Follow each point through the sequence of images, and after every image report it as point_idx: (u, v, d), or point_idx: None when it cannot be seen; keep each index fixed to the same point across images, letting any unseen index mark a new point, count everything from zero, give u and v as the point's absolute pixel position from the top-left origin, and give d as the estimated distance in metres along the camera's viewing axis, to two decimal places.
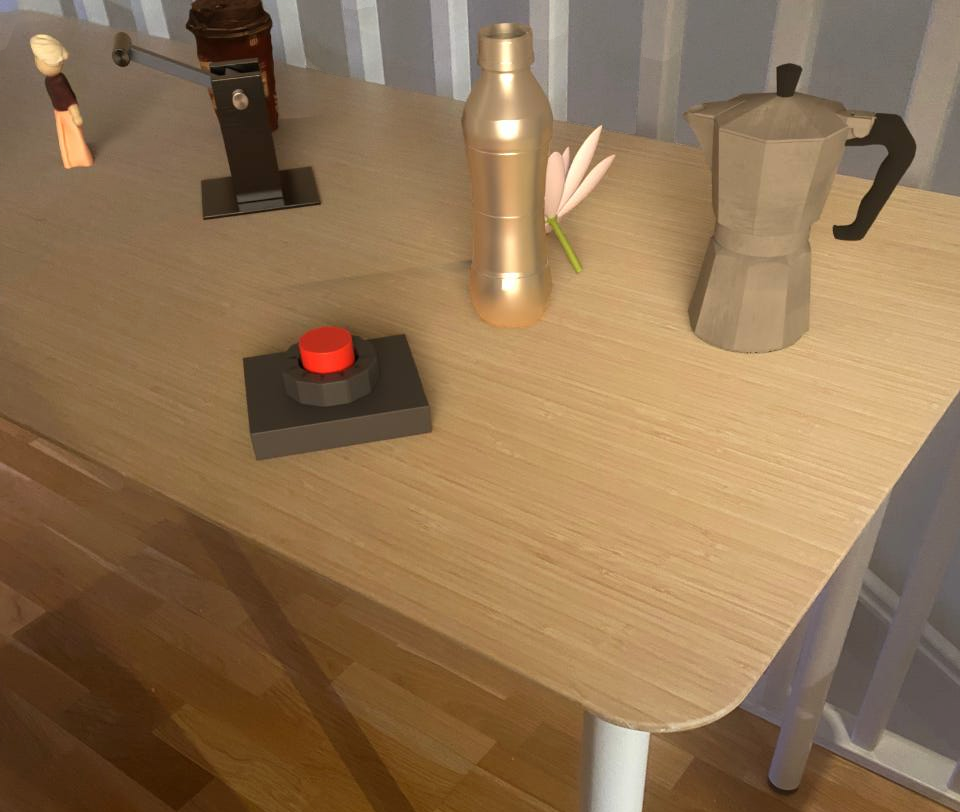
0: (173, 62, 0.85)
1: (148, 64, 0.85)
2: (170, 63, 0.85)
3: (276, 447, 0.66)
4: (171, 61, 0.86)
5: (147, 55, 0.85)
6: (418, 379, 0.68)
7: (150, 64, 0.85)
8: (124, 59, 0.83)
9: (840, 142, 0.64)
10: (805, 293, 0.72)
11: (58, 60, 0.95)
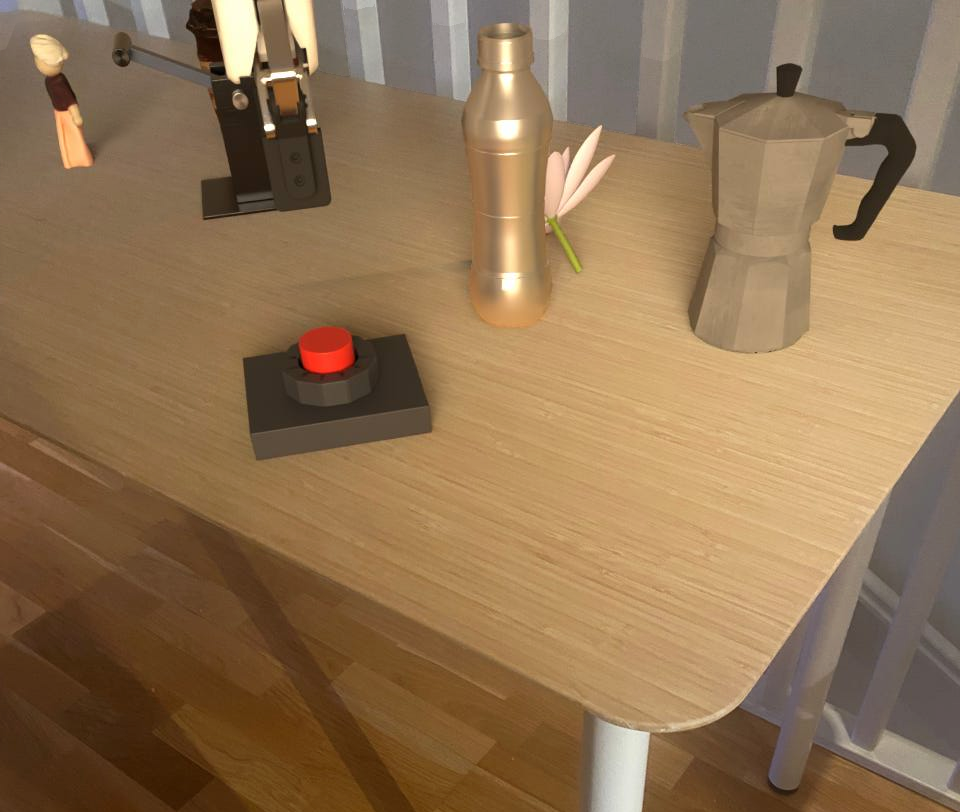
0: (173, 62, 0.85)
1: (148, 64, 0.85)
2: (170, 63, 0.85)
3: (276, 447, 0.66)
4: (171, 61, 0.86)
5: (147, 55, 0.85)
6: (418, 379, 0.68)
7: (150, 64, 0.85)
8: (124, 59, 0.83)
9: (840, 142, 0.64)
10: (805, 293, 0.72)
11: (58, 60, 0.95)
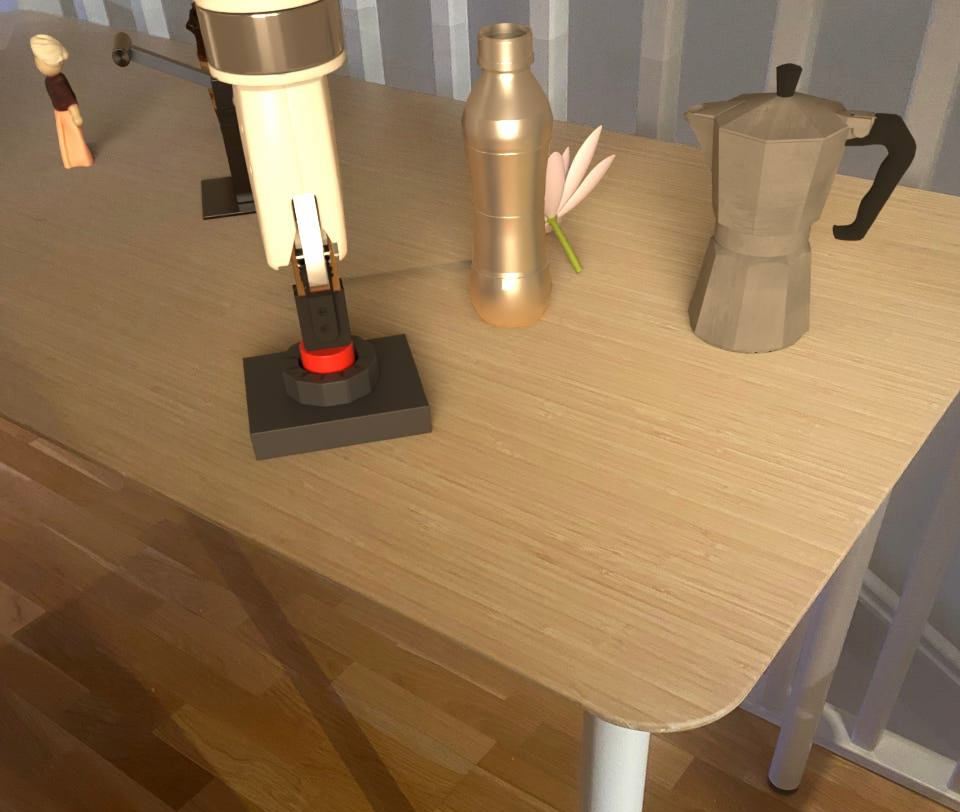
0: (173, 62, 0.85)
1: (148, 64, 0.85)
2: (170, 63, 0.85)
3: (276, 447, 0.66)
4: (171, 61, 0.86)
5: (147, 55, 0.85)
6: (418, 379, 0.68)
7: (150, 64, 0.85)
8: (124, 59, 0.83)
9: (840, 142, 0.64)
10: (805, 293, 0.72)
11: (58, 60, 0.95)
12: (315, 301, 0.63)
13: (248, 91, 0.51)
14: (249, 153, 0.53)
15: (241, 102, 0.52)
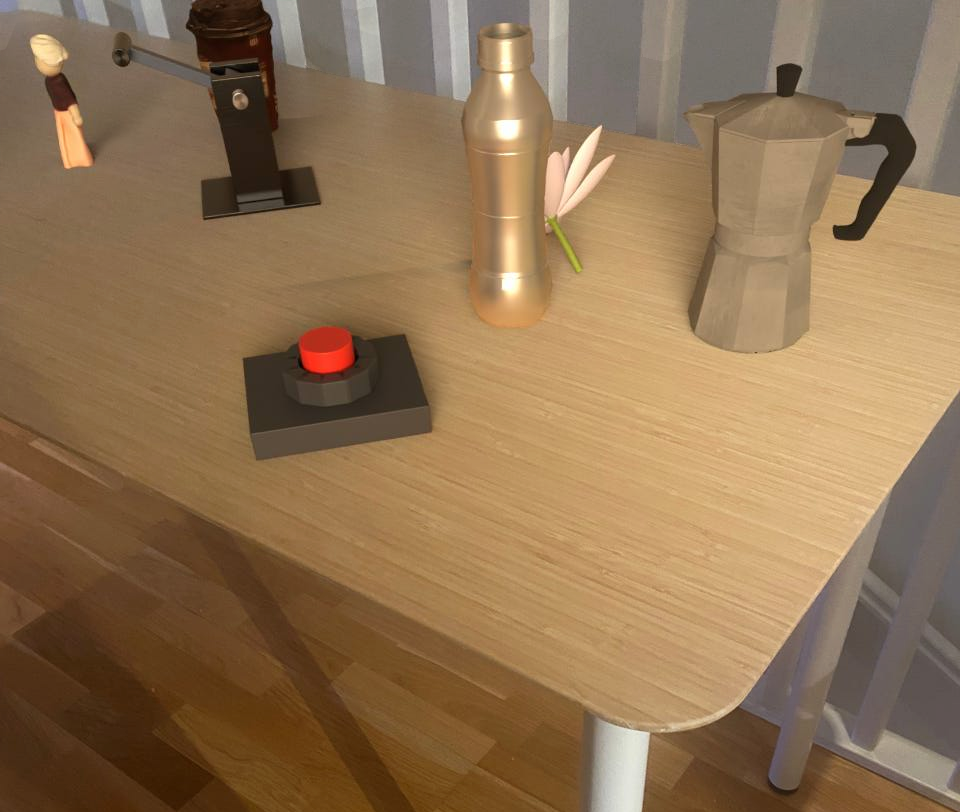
0: (173, 62, 0.85)
1: (148, 64, 0.85)
2: (170, 63, 0.85)
3: (276, 447, 0.66)
4: (171, 61, 0.86)
5: (147, 55, 0.85)
6: (418, 379, 0.68)
7: (150, 64, 0.85)
8: (124, 59, 0.83)
9: (840, 142, 0.64)
10: (805, 293, 0.72)
11: (58, 60, 0.95)
12: None
13: None
14: None
15: None
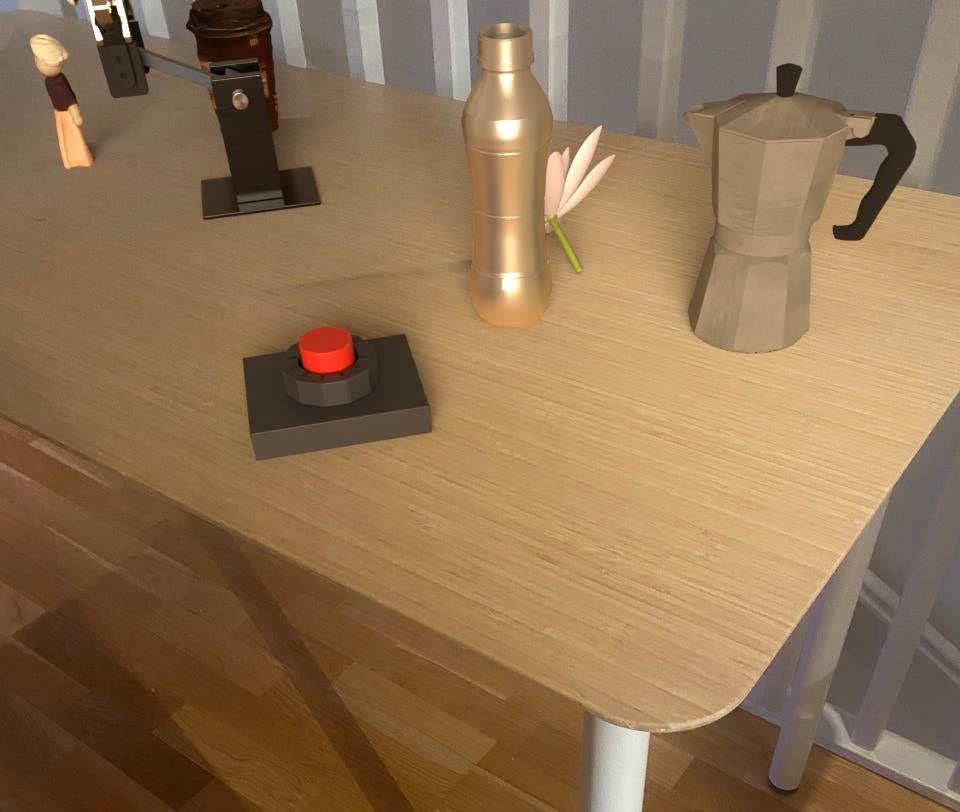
0: (173, 62, 0.85)
1: (148, 64, 0.85)
2: (170, 63, 0.85)
3: (276, 447, 0.66)
4: (171, 61, 0.86)
5: (147, 55, 0.85)
6: (418, 379, 0.68)
7: (150, 64, 0.85)
8: None
9: (840, 142, 0.64)
10: (805, 293, 0.72)
11: (58, 60, 0.95)
12: (112, 49, 0.81)
13: None
14: None
15: None
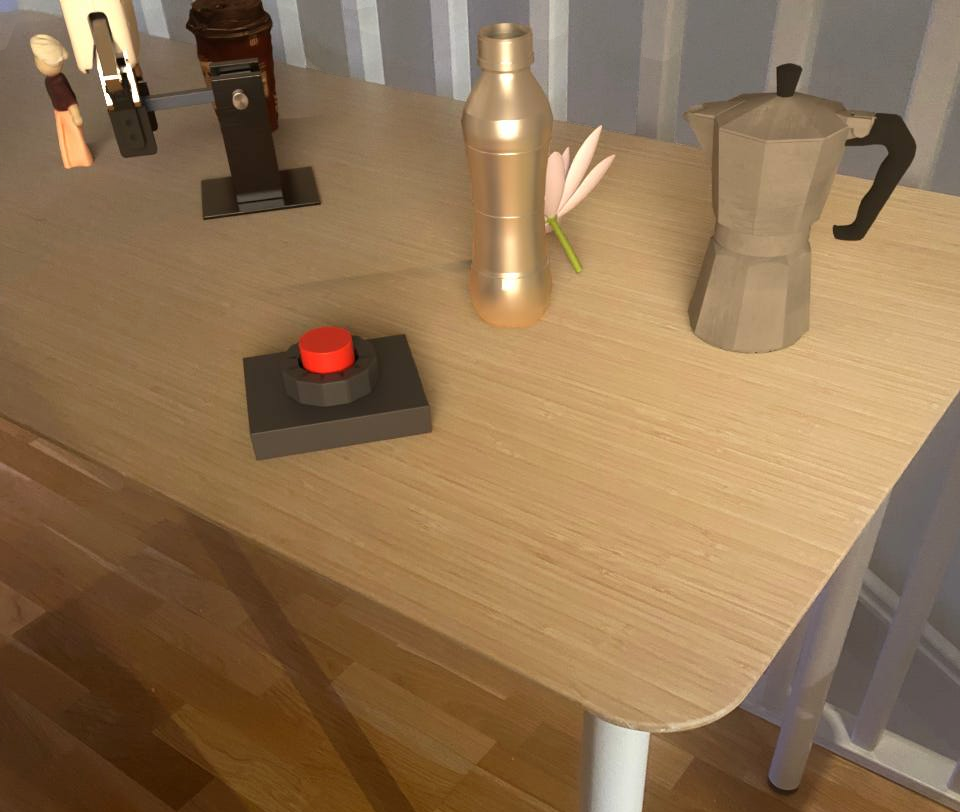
0: (172, 95, 0.87)
1: (152, 108, 0.88)
2: (170, 97, 0.87)
3: (276, 447, 0.66)
4: (170, 95, 0.87)
5: (148, 100, 0.87)
6: (418, 379, 0.68)
7: (154, 107, 0.87)
8: None
9: (840, 142, 0.64)
10: (805, 293, 0.72)
11: (58, 60, 0.95)
12: (122, 114, 0.84)
13: None
14: None
15: None
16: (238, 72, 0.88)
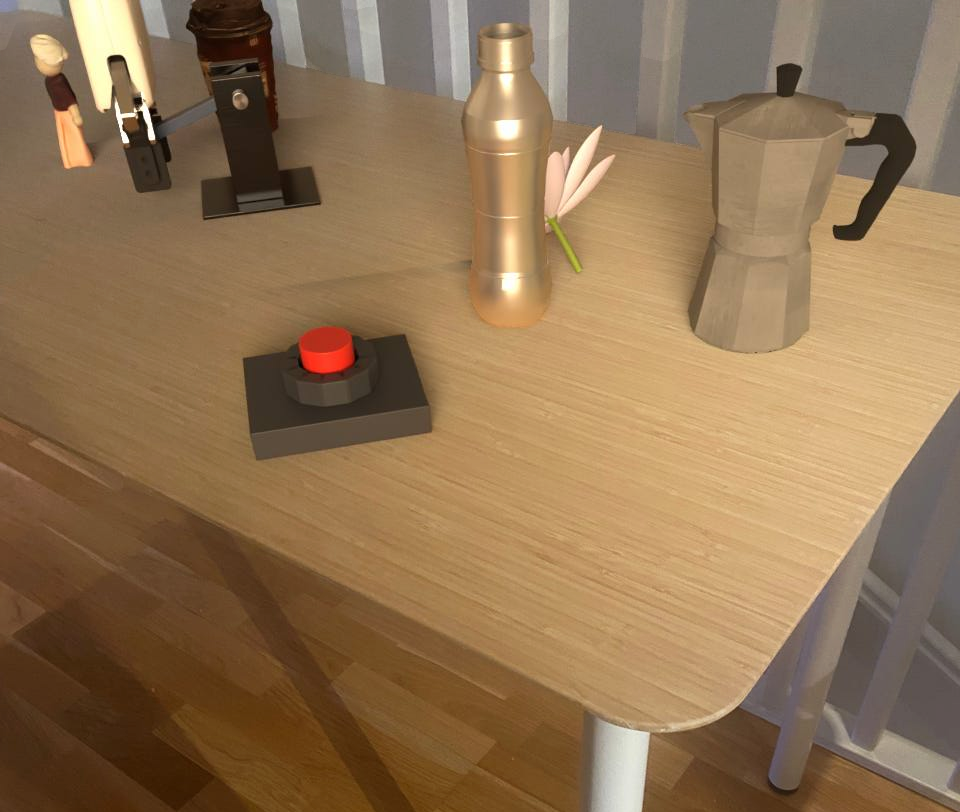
0: (179, 115, 0.88)
1: (164, 134, 0.89)
2: (177, 118, 0.88)
3: (276, 447, 0.66)
4: (177, 115, 0.89)
5: (158, 127, 0.89)
6: (418, 379, 0.68)
7: (165, 132, 0.89)
8: None
9: (840, 142, 0.64)
10: (805, 293, 0.72)
11: (58, 60, 0.95)
12: (138, 151, 0.86)
13: None
14: None
15: None
16: (234, 72, 0.88)
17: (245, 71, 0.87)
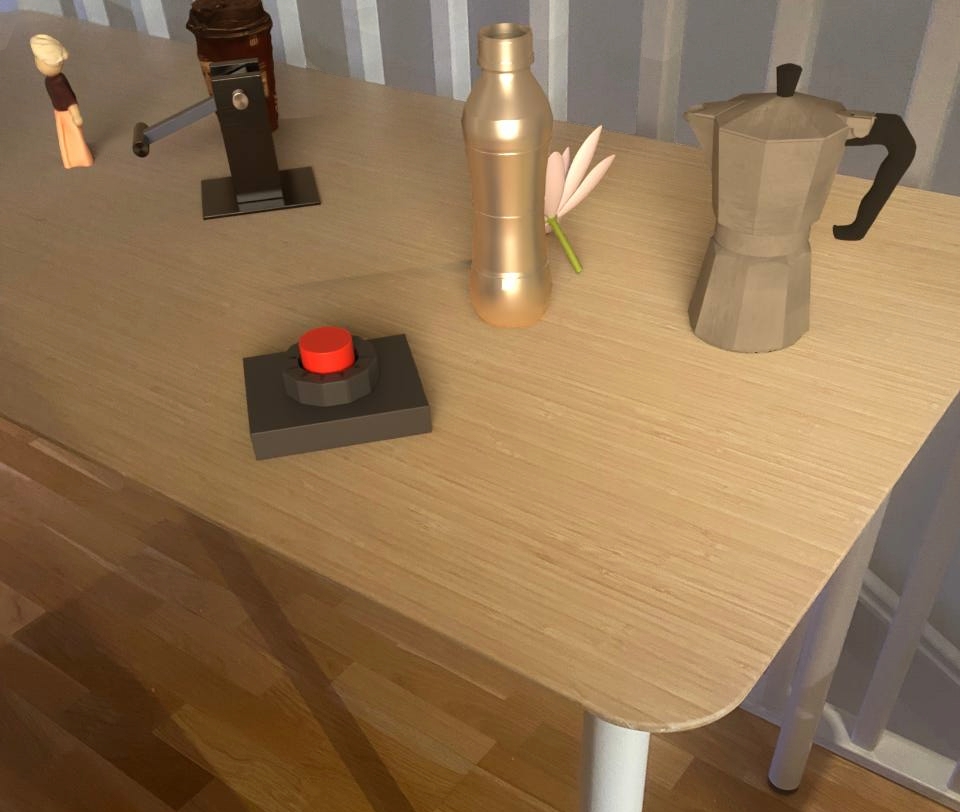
0: (179, 115, 0.88)
1: (164, 134, 0.89)
2: (177, 118, 0.88)
3: (276, 447, 0.66)
4: (177, 115, 0.89)
5: (158, 127, 0.89)
6: (418, 379, 0.68)
7: (165, 132, 0.89)
8: (143, 148, 0.88)
9: (840, 142, 0.64)
10: (805, 293, 0.72)
11: (58, 60, 0.95)
12: None
13: None
14: None
15: None
16: (234, 72, 0.88)
17: (245, 71, 0.87)
